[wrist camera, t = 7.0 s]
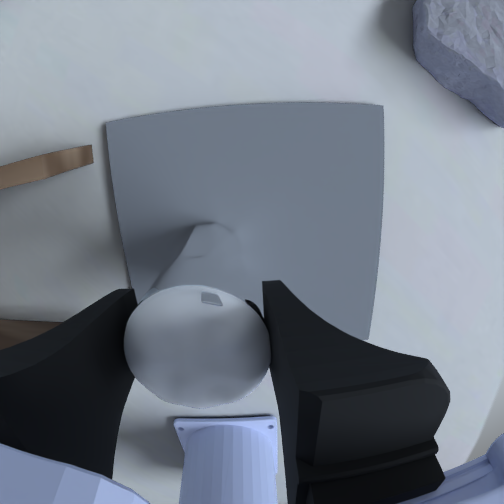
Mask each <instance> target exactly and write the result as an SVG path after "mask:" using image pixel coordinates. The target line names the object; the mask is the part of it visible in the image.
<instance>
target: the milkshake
mask: <svg viewBox="0 0 504 504" xmlns="http://www.w3.org/2000/svg"><path fill="white" fill-rule="evenodd" d="M124 353H125V357H126V361H127V363H128V366H129V368H130V370H131V372H132V373H133V375H134V376H135V378H136V379H137V380H138V381H139V382H140V383H141V384H142V385H144V386H145V387H146V388H147V389H148V390H150V391H151V392H152V393H154V394H155V395H156V396H158V397H159V398H160V399H162V400H164V401H166V402H168V403H172V404H177V405H183V406H187V407H191V408H197V409H205V408H210V407H214V406H218V405H223V404H229V403H233V402H236V401H238V400H240V399H242V398H244V397H246V396H247V395H249V394H250V393H251V392H253V391H254V390H255V389H256V388H257V387H258V385H259V384H260V383H261V381H262V380H263V378H264V376H265V375H266V372H267V370H268V368H269V366H270V363H271V347H270V338H269V333H268V330H267V327H266V324H265V321H264V318H263V316H262V313H261V310H260V307H259V304H258V302H257V299H256V296H255V293H254V291H253V288H252V285H251V281H250V277H249V274H248V270H247V267H246V263H245V260H244V256H243V253H242V250H241V248H240V246H239V243H238V241H237V239H236V236H235V234H234V233H233V232H231V231H229V230H228V229H226V228H224V227H222V226H221V225H219V224H217V223H213V224H201V225H196V226H195V227H193V228H192V229H191V230H190V231H189V232H188V233H187V234H185V235H184V236H183V237H182V238H181V239H180V241H179V243H178V244H177V246H176V247H175V249H174V250H173V252H172V253H171V255H170V257H169V258H168V260H167V261H166V263H165V265H164V266H163V268H162V269H161V271H160V273H159V274H158V276H157V278H156V279H155V281H154V282H153V284H152V285H151V286H150V288H149V289H148V291H147V292H146V294H145V295H144V297H143V298H142V300H141V301H140V302H139V304H138V305H137V307H136V308H135V310H134V311H133V313H132V314H131V316H130V318H129V320H128V322H127V325H126V329H125V334H124Z"/></svg>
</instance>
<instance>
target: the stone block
mask: <svg viewBox="0 0 504 504" xmlns="http://www.w3.org/2000/svg"><path fill="white" fill-rule="evenodd" d="M412 13H413V36H414V40H413V47H414V53H415V57H416V60H417V61H418V62H419V63H420V64H421V65H422V66H423V67H424V68H425V69H427V70H428V71H429V72H430V73H431V74H432V75H433V77H434V78H435V79H436V80H437V81H438V82H439V83H440V84H441V85H442V86H443V87H444V88H447V89H449V90H450V91H452V92H454V93H456V94H458V95H459V96H460V97H461V98H464V99H468V100H469V101H470V102H471V103H473V104H474V105H475V106H476V107H477V109H479V110H480V111H481V112H482V113H483V114H484V115H485V116H487V117H488V118H489V119H490V120H492V121H493V122H495V123H496V124H497V125H498V126H500V127H502V128H504V0H416V3H415V4H414V6H413V11H412Z"/></svg>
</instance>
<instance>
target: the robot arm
mask: <svg viewBox="0 0 504 504" xmlns="http://www.w3.org/2000/svg"><path fill="white" fill-rule="evenodd" d="M262 292H263V311H264V321H265V324H266V327H267V330H268V333H269V338H270V347H271V363H270V366H269V368H270V372H271V377H272V381H273V386H274V391H275V395H276V400H277V404H278V410H279V416H280V425H281V435H282V445H283V455H284V466H285V477H286V488H287V500H288V504H504V433H503V434H501V435H500V436H499V437H498V438H497V439H496V440H495V441H494V442H493V443H492V444H491V446H490V448H489V449H488V451H487V453H486V454H485V455H483V456H481V457H478V458H476V459H474V460H472V461H470V462H467V463H465V464H463V465H460V466H458V467H455V468H453V469H450V470H448V471H445V472H443V471H442V469H441V467H440V464H439V462H438V460H437V458H436V456H435V454H437V452H438V445H437V443H436V441H435V439H434V435H435V433H436V431H437V429H438V428H439V426H440V424H441V422H442V420H443V418H444V416H445V414H446V411H447V409H448V406H449V403H450V391H449V389H448V387H447V386H446V384H445V382H444V381H443V379H442V378H441V376H440V374H439V373H438V371H437V370H436V369H435V367H434V366H433V365H432V363H431V362H430V361H429V360H428V359H426V358H421V357H416V356H411V355H407V354H402V353H397V352H394V351H391V350H387V349H384V348H381V347H378V346H375V345H372V344H370V343H367V342H365V341H362V340H360V339H358V338H356V337H354V336H351V335H349V334H347V333H345V332H343V331H342V330H340V329H338V328H336V327H335V326H333V325H331V324H330V323H328V322H327V321H325V320H324V319H322V318H321V317H319V316H318V315H317V314H316V313H314V312H313V311H312V310H310V309H309V308H308V307H307V306H306V305H305V304H304V303H303V302H301V301H300V300H299V299H298V298H297V297H296V296H295V295H294V294H293V293H292V292H291V291H290V290H289V289H288V287H287V286H286V285H285V284H284V283H283V282H282V281H281V280H272V281H262ZM137 305H138V303H137V299H136V295H135V291H134V288H133V289H118V290H115V291H113V292H111V293H110V294H108V295H106V296H104V297H103V298H101V299H100V300H98V301H96V302H95V303H93V304H92V305H90V306H89V307H87V308H86V309H84V310H82V311H81V312H79V313H78V314H76V315H74V316H73V317H71V318H69V319H68V320H66V321H64V322H63V323H61V324H60V325H58V326H56V327H54V328H52V329H50V330H48V331H46V332H44V333H42V334H40V335H38V336H36V337H34V338H32V339H29V340H27V341H24V342H21V343H19V344H16V345H14V346H11V347H8V348H5V349H2V350H0V504H150V503H149V502H148V501H147V500H145V499H144V498H143V497H141V496H140V495H139V494H137V493H136V492H135V491H134V490H132V489H131V488H129V487H126V486H124V485H122V484H120V483H118V482H116V481H114V480H112V475H113V464H114V455H115V449H116V442H117V436H118V431H119V426H120V421H121V416H122V412H123V409H124V406H125V403H126V400H127V397H128V394H129V392H130V389H131V386H132V383H133V381H134V378H135V376H134V375H133V373H132V372H131V370H130V368H129V366H128V363H127V361H126V357H125V353H124V334H125V329H126V325H127V322H128V320H129V318H130V316H131V314H132V313H133V311H134V310H135V308H136V307H137ZM174 427H175V430H176V432H177V435H178V438H179V440H180V443H181V445H182V448H183V450H184V453H185V458H184V466H183V474H182V482H181V490H180V498H179V504H278V502H277V491H276V480H275V475H276V474H277V419H276V418H275V417H273V416H264V417H248V418H218V419H187V418H178V419H175V420H174Z"/></svg>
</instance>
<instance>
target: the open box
mask: <svg viewBox="0 0 504 504" xmlns="http://www.w3.org/2000/svg"><path fill="white" fill-rule="evenodd" d="M91 163H93V154H92V145H88V146H82V147H77V148H72V149H67V150H62V151H57V152H52V153H48V154H44V155H39V156H36V157H32V158H28V159H25V160H21V161H18V162H14V163H11V164H8V165H4V166H1V167H0V189H4V188H8V187H12V186H16V185H20V184H24V183H29V182H33V181H38V180H42V179H46V178H49V177H51V176H54V175H57V174H60V173H63V172H66V171H69V170H72V169H75V168H78V167H82V166H85V165H88V164H91ZM61 323H63V322H38V321H19V320H3V319H0V350H2V349H5V348H8V347H11V346H14V345H16V344H19V343H21V342H24V341H27V340H29V339H32V338H34V337H36V336H38V335H40V334H42V333H44V332H46V331H48V330H50V329H52V328H54V327H56V326H58V325H60V324H61Z"/></svg>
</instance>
